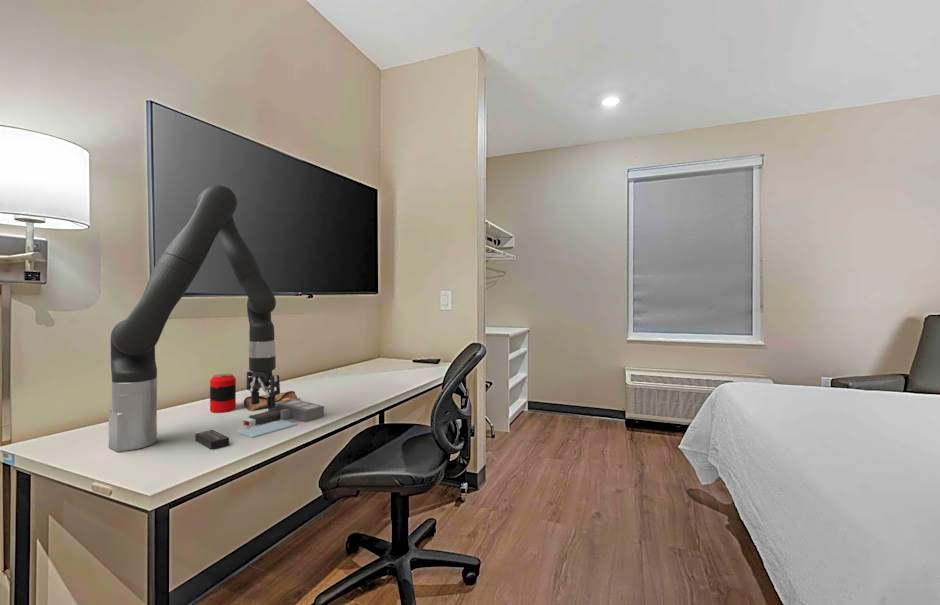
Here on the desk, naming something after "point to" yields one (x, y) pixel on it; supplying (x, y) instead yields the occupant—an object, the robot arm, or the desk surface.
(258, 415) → the usb drive
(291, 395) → the sunglasses case
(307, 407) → the grey stepped block
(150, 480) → the desk surface
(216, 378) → the soda can
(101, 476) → the desk surface
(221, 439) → the multiport hub
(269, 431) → the silicone mat
